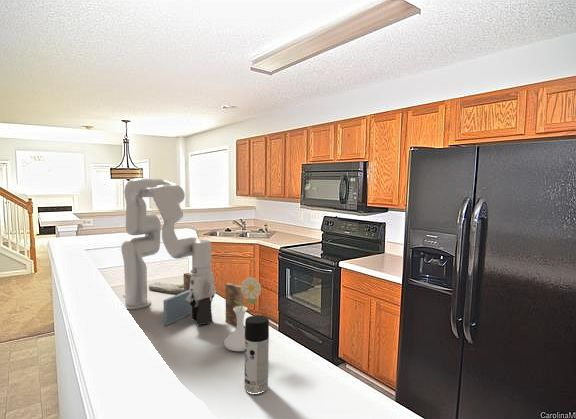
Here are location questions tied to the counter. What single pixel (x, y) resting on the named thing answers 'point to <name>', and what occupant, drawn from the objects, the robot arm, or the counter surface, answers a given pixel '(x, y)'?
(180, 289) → the long grey stone
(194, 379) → the counter surface
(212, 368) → the counter surface
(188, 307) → the blue rectangular panel
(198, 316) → the phone stand
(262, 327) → the spray can
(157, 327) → the counter surface
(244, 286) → the flower in vase
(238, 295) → the brown wooden blocks
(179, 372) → the counter surface
